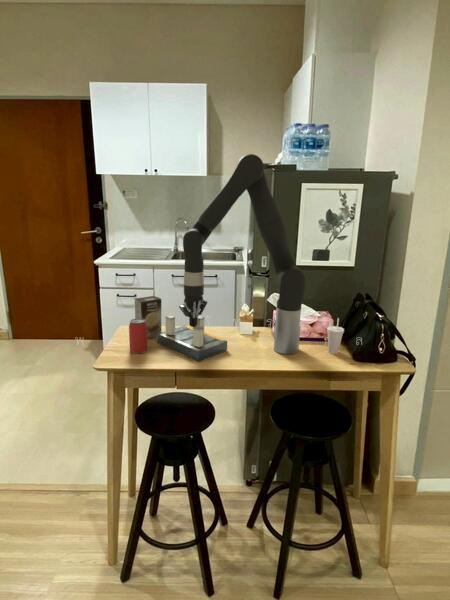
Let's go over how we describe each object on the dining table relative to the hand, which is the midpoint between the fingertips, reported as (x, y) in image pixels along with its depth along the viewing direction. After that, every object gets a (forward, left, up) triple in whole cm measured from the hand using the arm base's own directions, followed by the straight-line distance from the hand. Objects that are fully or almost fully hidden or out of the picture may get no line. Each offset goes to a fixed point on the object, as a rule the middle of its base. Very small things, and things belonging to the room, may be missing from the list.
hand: (193, 326), depth 157 cm
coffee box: (+6, -21, -9) cm, 24 cm away
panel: (+1, 0, -8) cm, 8 cm away
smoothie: (-36, +41, -9) cm, 55 cm away
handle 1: (+5, -8, -4) cm, 10 cm away
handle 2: (+5, +8, -4) cm, 10 cm away
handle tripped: (-3, 0, -4) cm, 5 cm away
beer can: (+18, -11, -9) cm, 23 cm away
